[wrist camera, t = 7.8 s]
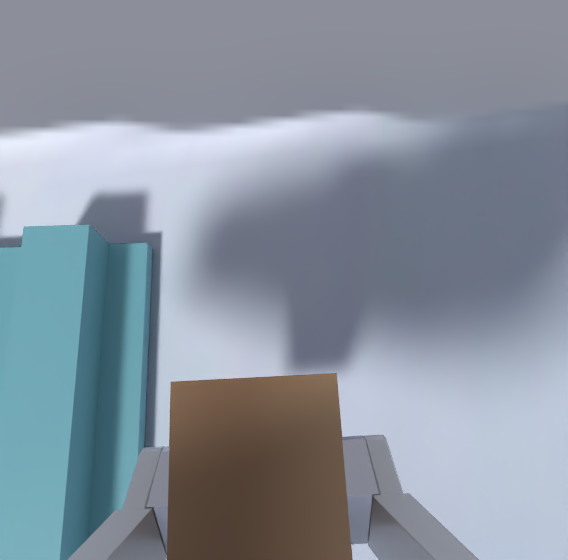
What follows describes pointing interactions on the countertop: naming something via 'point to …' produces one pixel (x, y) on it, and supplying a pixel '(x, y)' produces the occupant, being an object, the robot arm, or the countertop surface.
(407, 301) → the countertop surface
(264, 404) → the brown rectangular block
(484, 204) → the countertop surface
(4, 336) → the slotted rack
